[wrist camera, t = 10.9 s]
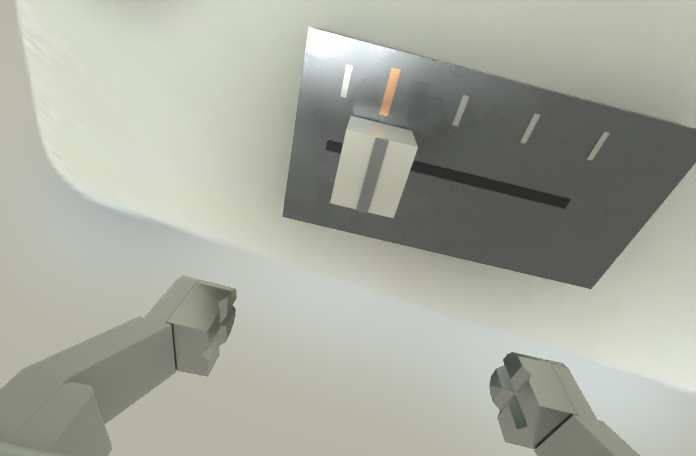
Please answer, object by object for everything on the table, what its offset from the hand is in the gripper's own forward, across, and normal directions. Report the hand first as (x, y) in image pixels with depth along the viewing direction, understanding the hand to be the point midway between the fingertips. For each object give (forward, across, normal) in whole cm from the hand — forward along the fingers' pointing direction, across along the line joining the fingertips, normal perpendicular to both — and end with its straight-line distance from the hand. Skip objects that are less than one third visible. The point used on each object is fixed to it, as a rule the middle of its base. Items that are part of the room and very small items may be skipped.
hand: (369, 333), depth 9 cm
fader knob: (+17, 0, 0) cm, 17 cm away
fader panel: (+20, -8, 0) cm, 21 cm away
